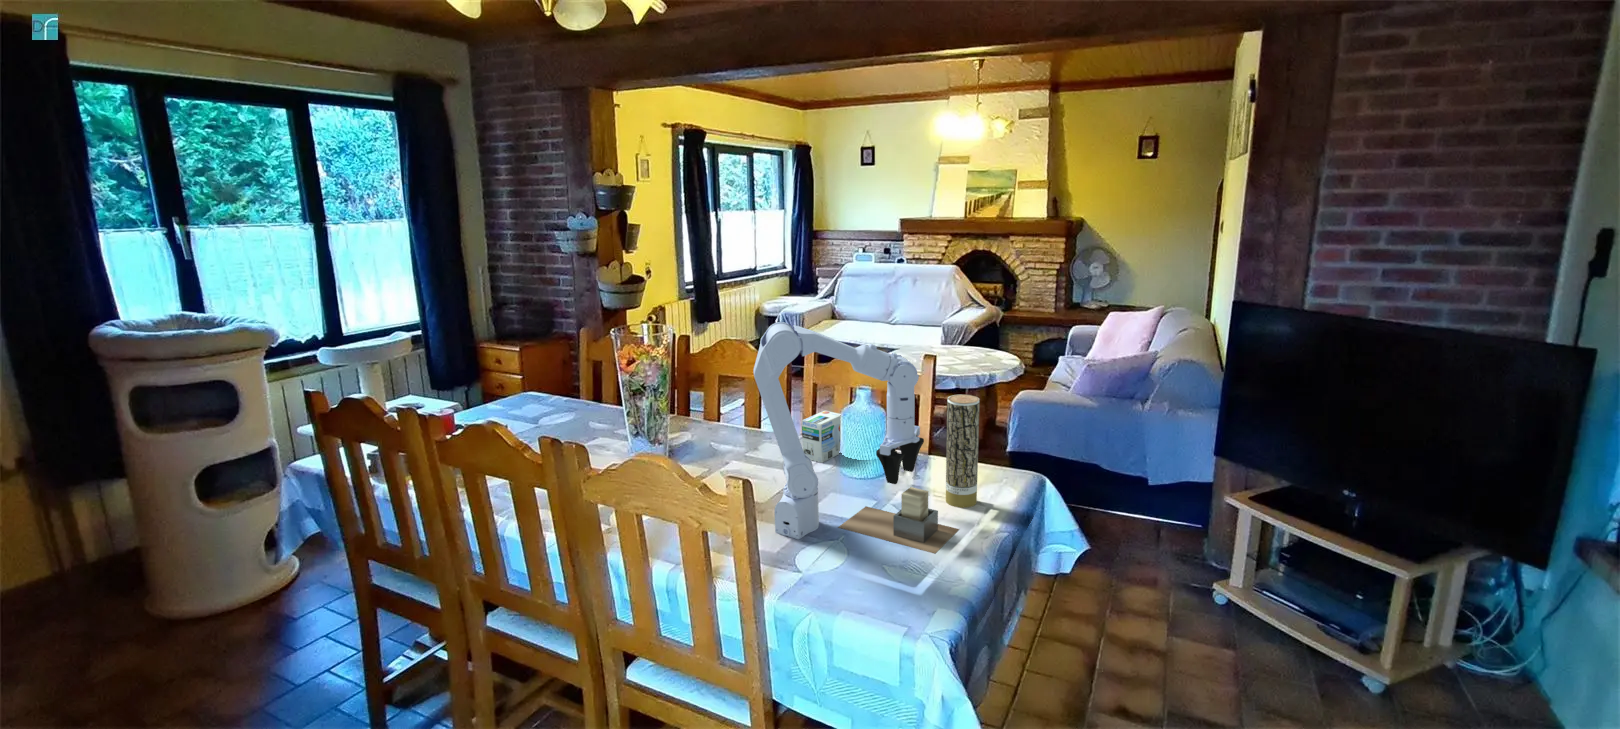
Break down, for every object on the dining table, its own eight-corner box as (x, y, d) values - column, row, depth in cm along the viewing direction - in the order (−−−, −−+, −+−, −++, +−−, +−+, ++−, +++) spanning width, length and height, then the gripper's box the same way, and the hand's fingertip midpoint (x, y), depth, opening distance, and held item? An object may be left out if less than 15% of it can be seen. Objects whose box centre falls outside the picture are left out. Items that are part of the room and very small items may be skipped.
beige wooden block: (919, 535, 149) (919, 498, 147) (901, 530, 151) (901, 493, 149) (927, 527, 152) (928, 491, 150) (910, 522, 154) (910, 487, 153)
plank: (935, 559, 143) (935, 553, 143) (837, 532, 155) (837, 527, 155) (959, 534, 153) (959, 529, 153) (866, 511, 165) (865, 506, 165)
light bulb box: (822, 463, 194) (821, 424, 191) (801, 458, 198) (800, 420, 195) (845, 451, 202) (844, 413, 199) (825, 446, 206) (824, 409, 203)
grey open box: (923, 543, 147) (923, 523, 146) (893, 535, 151) (893, 515, 150) (937, 530, 153) (938, 510, 152) (908, 522, 156) (908, 503, 155)
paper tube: (976, 513, 162) (979, 403, 156) (945, 511, 164) (947, 402, 158) (976, 500, 169) (979, 394, 163) (945, 498, 170) (947, 394, 164)
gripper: (902, 428, 146) (902, 492, 149) (933, 408, 157) (932, 468, 161) (870, 422, 149) (871, 485, 153) (903, 404, 161) (902, 463, 164)
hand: (900, 476), depth 157 cm, fingers open, 7 cm apart
